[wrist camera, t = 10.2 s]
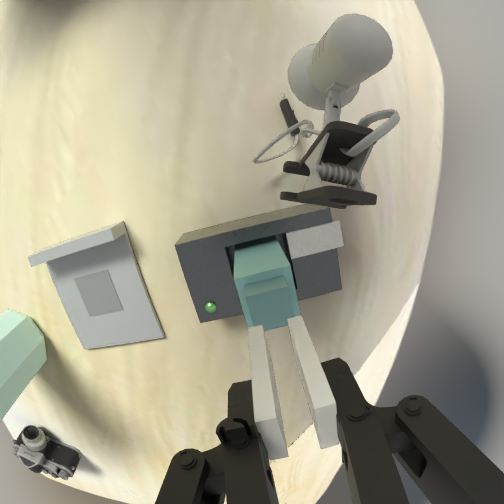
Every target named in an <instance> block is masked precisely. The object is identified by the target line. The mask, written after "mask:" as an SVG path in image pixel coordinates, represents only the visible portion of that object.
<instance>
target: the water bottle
mask: <svg viewBox="0 0 504 504" xmlns="http://www.w3.org/2000/svg"><path fill="white" fill-rule="evenodd" d="M46 361H47V354H46V347H45V340H44V335H43V333H42V332H41V331H40V329H39V328H38V327H37V325H36V324H35V323H34V321H33V320H32V319H31V317H29V316H27V315H24V314H22V313H20V312H17V311H15V310H10V309H8V310H6V311H5V312H4V313H2V314H1V315H0V422H1V420H2V419H3V417H4V416H5V415H6V413H7V412H8V410H9V409H10V408H11V406H12V405H13V404H14V402H15V401H16V399H17V398H18V397H19V395H20V394H21V393H22V391H23V390H24V389H25V387H26V386H27V385H28V384H29V382H30V381H31V380H32V378H33V377H34V376H35V375H36V373H37V372H38V371H39V370H40V368H41V367H42V366H43V365H44V363H45V362H46Z"/></svg>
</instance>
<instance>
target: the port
mask: <svg viewBox="0 0 504 504" xmlns="http://www.w3.org/2000/svg"><path fill="white" fill-rule="evenodd" d="M272 235H275V236H276V238H277V240H278V242H279V244H280V246H281V248H282V250H283V252H284V254H285V256H286V258H287V260H288V262H289V264H290V266H291V271H292V275H293V280H294V285H295V290H296V295H297V300H298V301H299V300H303V299H307V298H311V297H315V296H319V295H323V294H326V293H330V292H334V291H337V290H341V289H342V286H341V278H340V270H339V263H338V256H337V249H336V248H339V247H342V246H344V243H343V236H342V230H341V224H340V220H339V221H334V222H332V219H331V213H330V208H329V207H326V206H320V205H314V204H304V205H299V206H295V207H291V208H286V209H282V210H278V211H273V212H269V213H265V214H261V215H256V216H252V217H248V218H244V219H240V220H236V221H232V222H228V223H224V224H220V225H216V226H212V227H208V228H204V229H200V230H196V231H192V232H188V233H184V234H183V235H182V236H181V238H180V239H179V240H178V241H177V243H176V244H175V248H176V251H177V254H178V257H179V261H180V264H181V267H182V270H183V273H184V276H185V279H186V282H187V285H188V288H189V291H190V294H191V297H192V300H193V303H194V306H195V309H196V312H197V315H198V317H199V320H200V323H203V322H208V321H213V320H217V319H222V318H227V317H231V316H236V315H241V314H244V313H243V309H242V306H241V303H240V299H239V296H238V292H237V289H236V285H235V282H234V253H235V244H239V243H243V242H247V241H252V240H256V239H260V238H264V237H268V236H272Z"/></svg>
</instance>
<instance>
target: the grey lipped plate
mask: <svg viewBox="0 0 504 504" xmlns="http://www.w3.org/2000/svg"><path fill="white" fill-rule="evenodd" d="M28 259H29V262H30V265H31V267H32V266H35V265H38V264H41V263H44V262H46V264H47V267H48V269H49V272H50V275H51V277H52V280H53V282H54V285H55V287H56V290H57V292H58V295H59V297H60V299H61V302H62V304H63V306H64V309H65V311H66V313H67V315H68V317H69V320H70V322H71V324H72V326H73V328H74V330H75V332H76V334H77V336H78V338H79V340H80V342H81V344H82V346H83V348H84V349H91V348H99V347H106V346H113V345H120V344H127V343H133V342H140V341H146V340H152V339H158V338H164V332H163V330H162V328H161V325H160V323H159V320H158V318H157V315H156V313H155V310H154V308H153V305H152V303H151V300H150V297H149V295H148V292H147V289H146V287H145V284H144V281H143V278H142V276H141V273H140V270H139V267H138V264H137V261H136V258H135V255H134V252H133V249H132V246H131V243H130V240H129V237H128V234H127V231H126V227H125V224H124V221H122V222H119V223H116V224H113V225H110V226H107V227H104V228H100V229H97V230H94V231H91V232H88V233H86V234H83V235H80V236H77V237H74V238H71V239H68V240H65V241H63V242H60V243H57V244H54V245H51V246H49V247H46V248H44V249H42V250H40V251H38V252H36V253H34V254H32V255H30V256H29V257H28Z"/></svg>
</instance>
